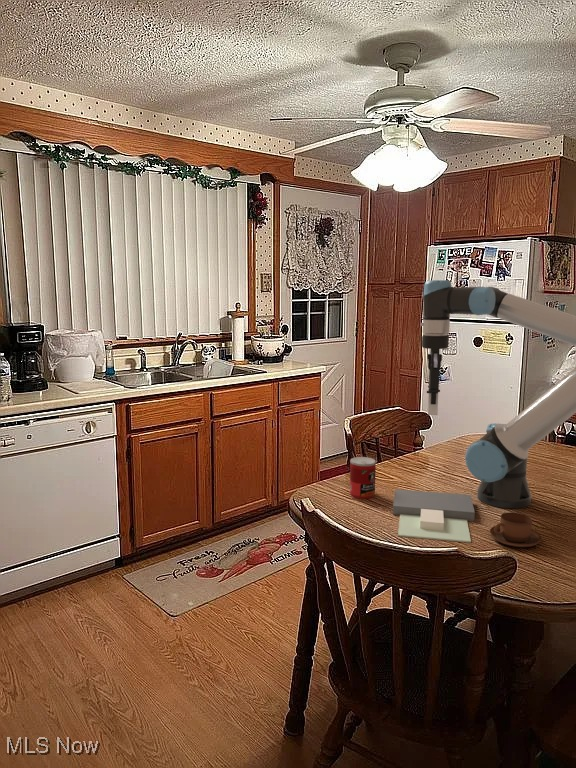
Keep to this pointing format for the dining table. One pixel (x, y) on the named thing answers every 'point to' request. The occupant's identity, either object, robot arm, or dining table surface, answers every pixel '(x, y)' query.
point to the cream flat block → (432, 519)
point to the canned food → (362, 477)
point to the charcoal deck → (433, 504)
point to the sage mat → (451, 532)
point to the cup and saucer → (515, 531)
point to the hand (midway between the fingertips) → (432, 414)
